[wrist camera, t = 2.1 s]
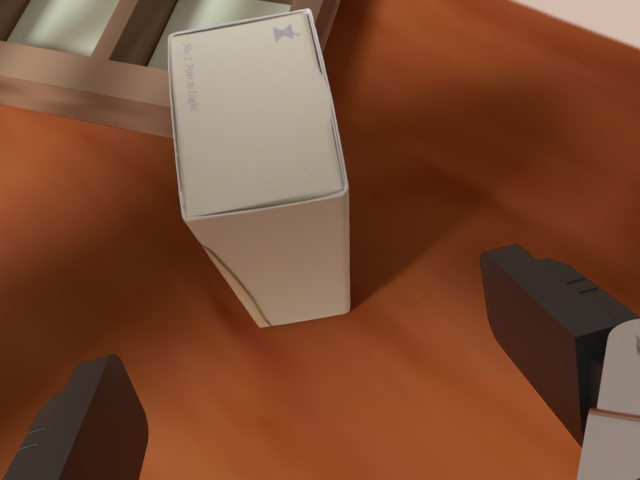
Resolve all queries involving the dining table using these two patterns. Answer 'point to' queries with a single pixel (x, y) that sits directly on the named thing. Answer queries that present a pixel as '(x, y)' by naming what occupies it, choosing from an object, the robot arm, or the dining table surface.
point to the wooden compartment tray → (113, 53)
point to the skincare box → (263, 163)
